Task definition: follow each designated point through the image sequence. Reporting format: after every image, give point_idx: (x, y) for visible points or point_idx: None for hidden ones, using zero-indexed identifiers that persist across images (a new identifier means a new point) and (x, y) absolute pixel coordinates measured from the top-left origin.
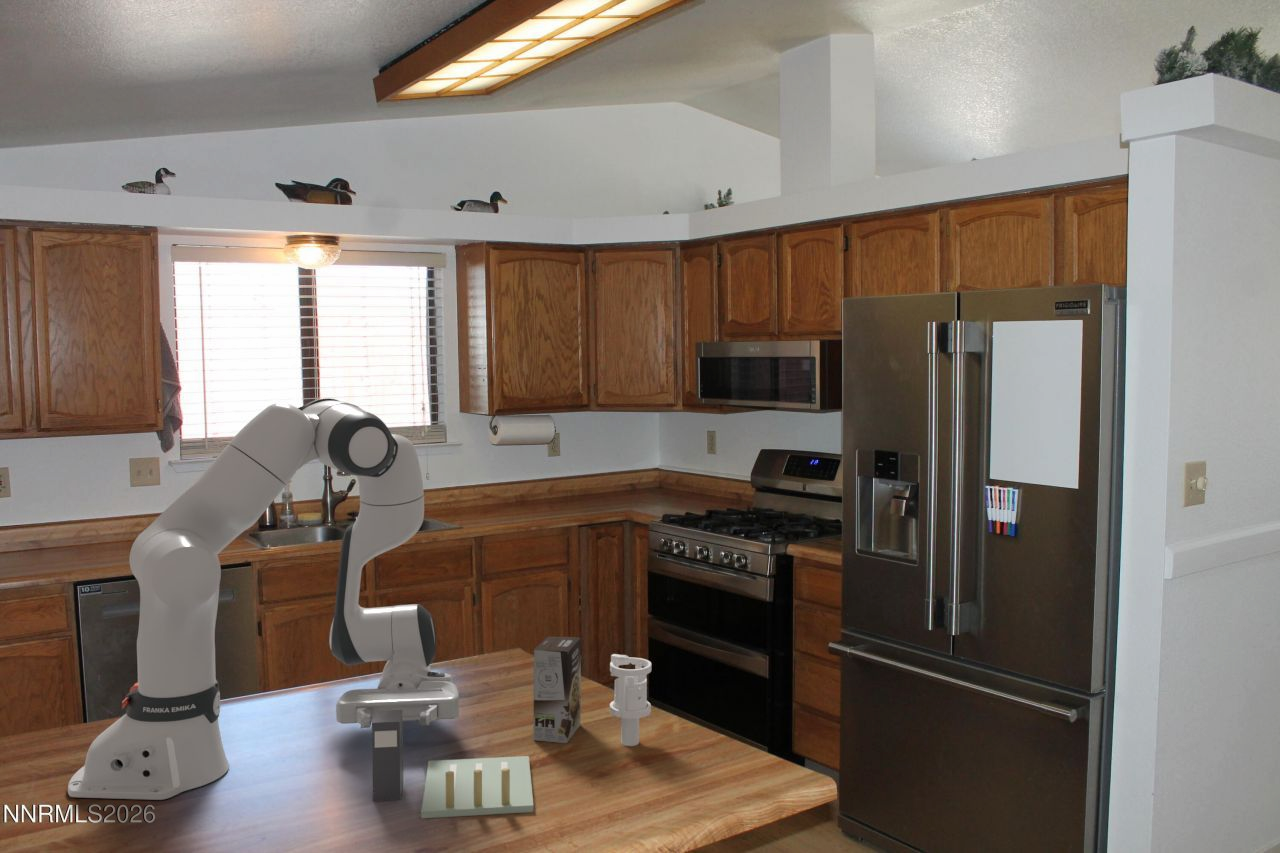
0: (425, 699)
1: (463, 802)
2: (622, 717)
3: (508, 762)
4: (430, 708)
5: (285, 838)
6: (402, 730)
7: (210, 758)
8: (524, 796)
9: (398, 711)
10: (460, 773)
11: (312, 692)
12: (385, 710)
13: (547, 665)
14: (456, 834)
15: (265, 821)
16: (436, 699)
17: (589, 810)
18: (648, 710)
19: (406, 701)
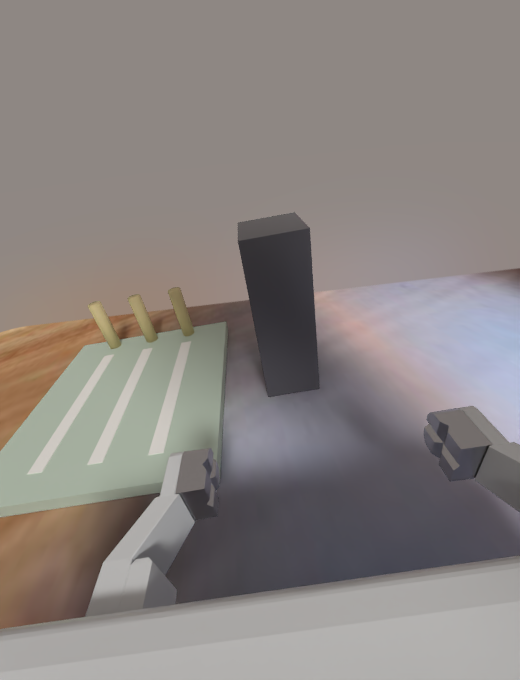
0: (150, 628)
1: (169, 340)
2: None
3: (26, 471)
4: (147, 532)
5: (377, 289)
6: (248, 293)
7: None
8: (82, 360)
9: (246, 236)
10: (151, 415)
11: None
12: (283, 232)
13: None
14: (189, 314)
15: (435, 303)
16: (67, 629)
17: (22, 362)
18: None
19: (300, 592)
